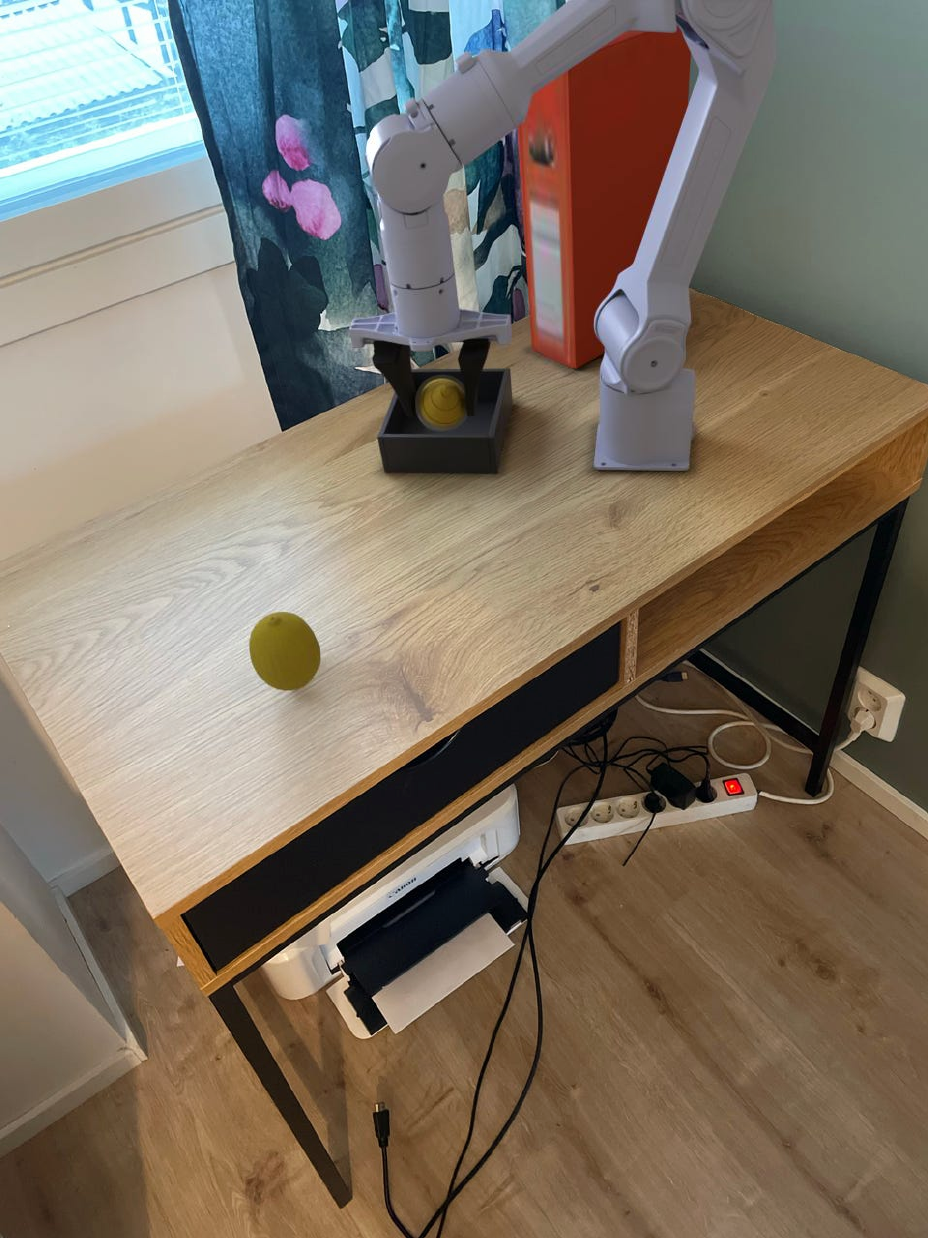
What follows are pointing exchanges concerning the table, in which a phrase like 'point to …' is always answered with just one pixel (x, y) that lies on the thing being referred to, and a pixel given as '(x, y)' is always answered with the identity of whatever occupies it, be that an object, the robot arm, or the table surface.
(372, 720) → the table surface
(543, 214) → the file binder
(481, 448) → the bin
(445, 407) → the yellow traffic cone
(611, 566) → the table surface
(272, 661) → the lemon
